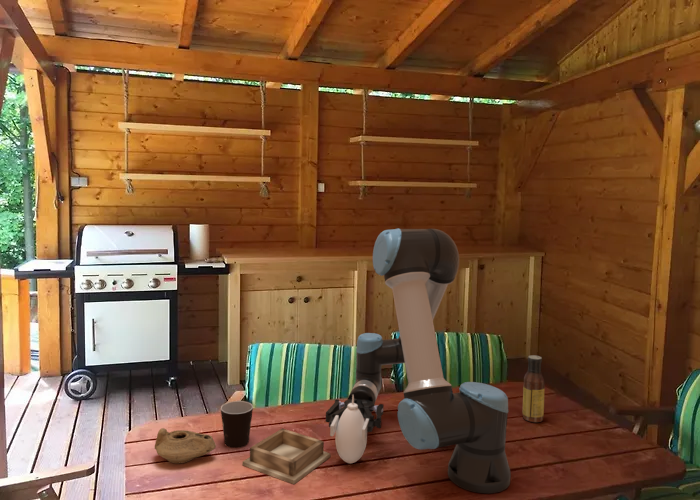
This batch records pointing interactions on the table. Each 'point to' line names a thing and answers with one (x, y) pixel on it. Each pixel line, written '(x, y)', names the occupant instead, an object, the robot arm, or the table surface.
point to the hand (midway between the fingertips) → (347, 432)
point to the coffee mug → (236, 423)
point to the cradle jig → (287, 455)
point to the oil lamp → (182, 445)
